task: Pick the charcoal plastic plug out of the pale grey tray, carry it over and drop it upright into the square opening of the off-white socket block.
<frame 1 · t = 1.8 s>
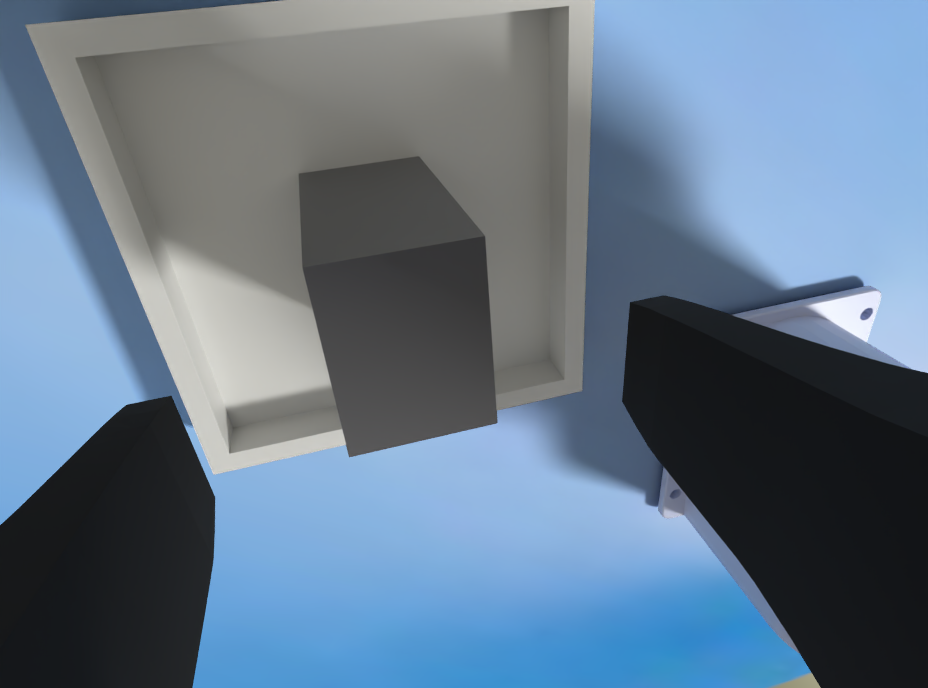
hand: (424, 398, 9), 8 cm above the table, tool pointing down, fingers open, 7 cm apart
tray: (370, 233, 16), on the table
plug: (372, 240, 15), point 1 cm above the table, touching tray
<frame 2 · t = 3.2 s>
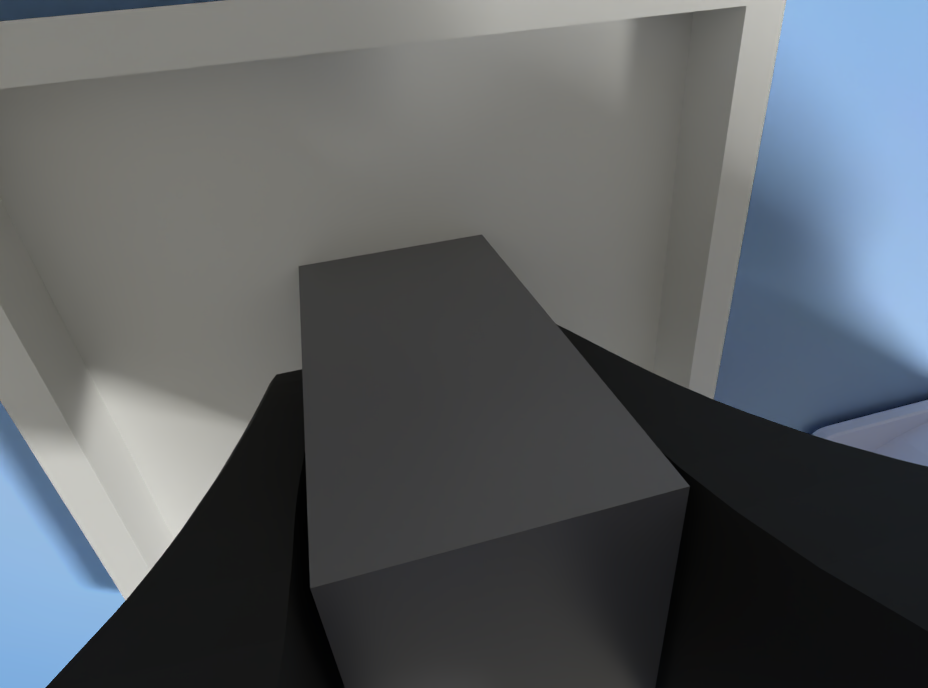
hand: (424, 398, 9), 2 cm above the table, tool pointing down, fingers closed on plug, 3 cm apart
tray: (403, 337, 11), on the table
plug: (408, 353, 10), point 1 cm above the table, touching gripper, tray
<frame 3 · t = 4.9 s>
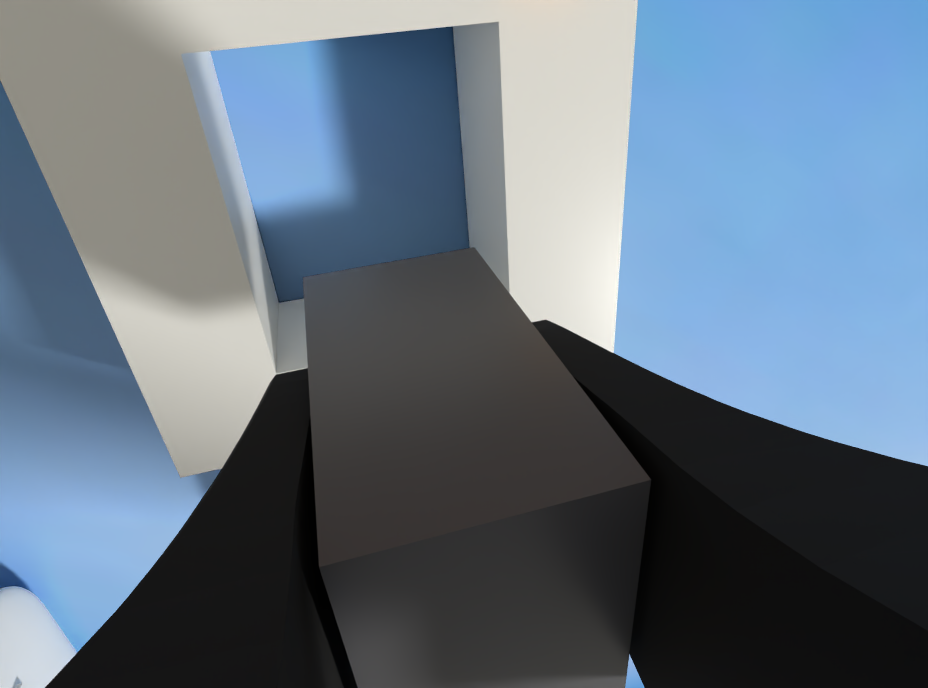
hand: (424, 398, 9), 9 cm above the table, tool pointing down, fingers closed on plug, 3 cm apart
socket block: (358, 171, 16), on the table
plug: (405, 358, 11), point 7 cm above the table, touching gripper
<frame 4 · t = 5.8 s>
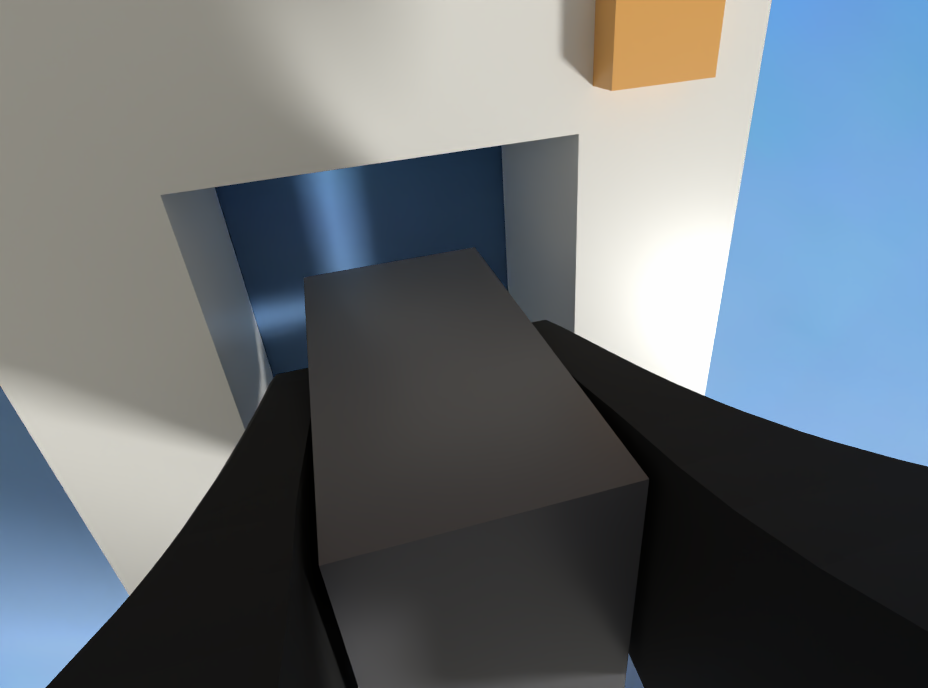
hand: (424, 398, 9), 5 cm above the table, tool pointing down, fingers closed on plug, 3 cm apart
socket block: (382, 275, 13), on the table
plug: (406, 358, 11), point 3 cm above the table, touching gripper
when the fingers open (5 cm above the table, at t = 6.6 s): plug drops 3 cm, resting in socket block.
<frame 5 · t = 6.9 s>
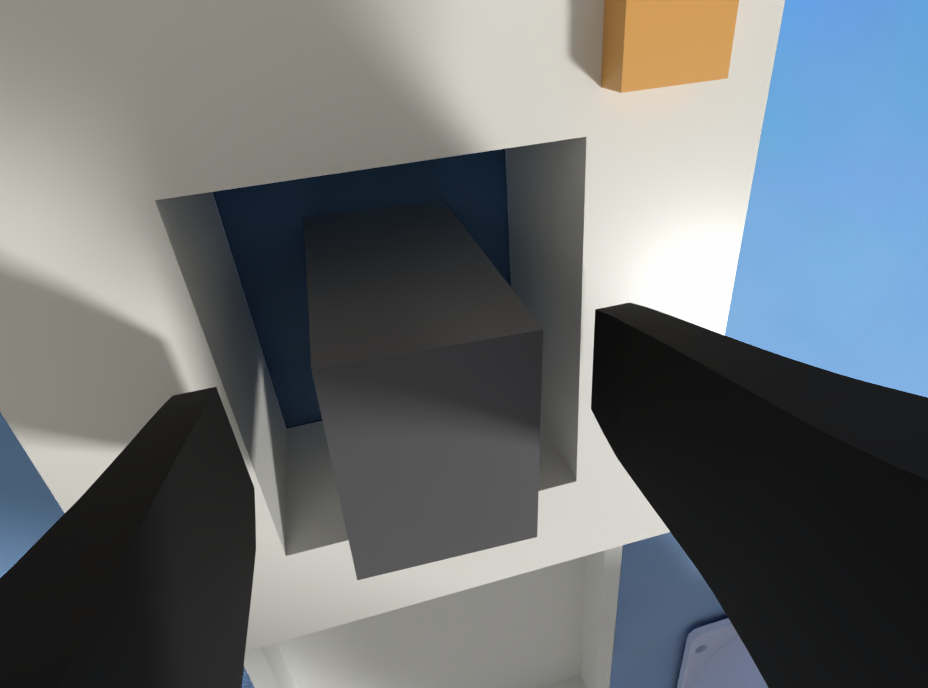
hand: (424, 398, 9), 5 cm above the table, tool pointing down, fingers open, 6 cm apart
socket block: (383, 280, 13), on the table
tray: (441, 621, 20), on the table
plug: (386, 292, 13), resting in socket block
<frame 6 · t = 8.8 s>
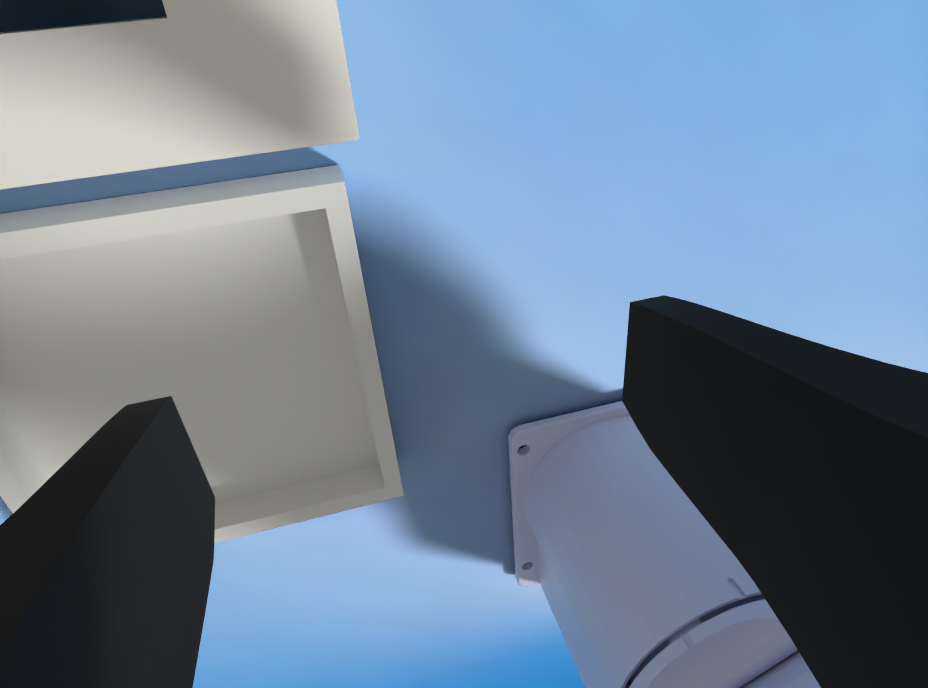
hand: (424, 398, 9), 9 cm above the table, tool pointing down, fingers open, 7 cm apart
tray: (194, 371, 18), on the table
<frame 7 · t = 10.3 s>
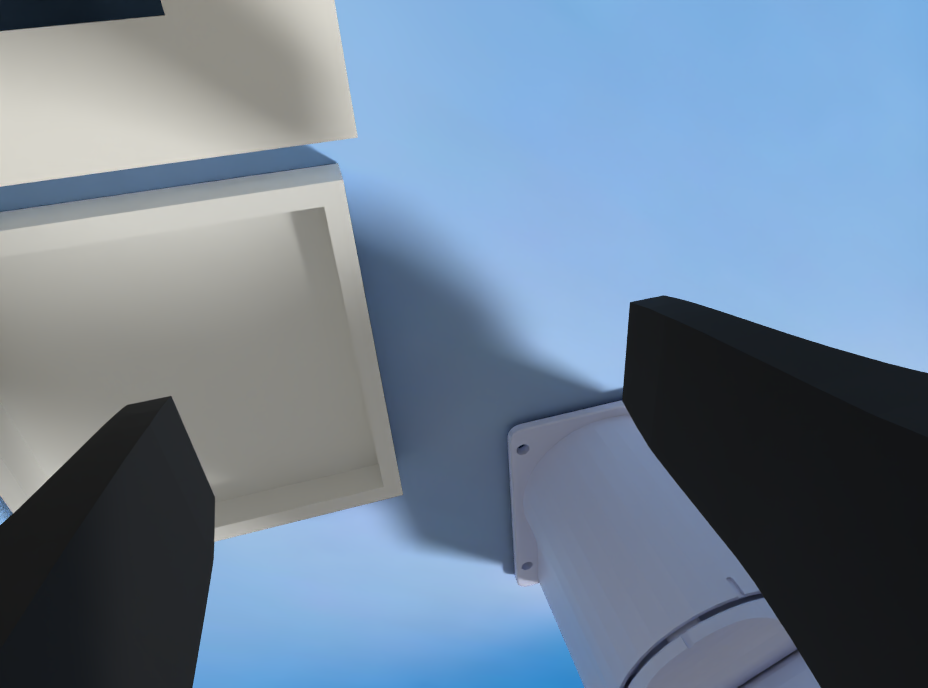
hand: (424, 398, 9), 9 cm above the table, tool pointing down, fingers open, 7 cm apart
tray: (193, 370, 18), on the table
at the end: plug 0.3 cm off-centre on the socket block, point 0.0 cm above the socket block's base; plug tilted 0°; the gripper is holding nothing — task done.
